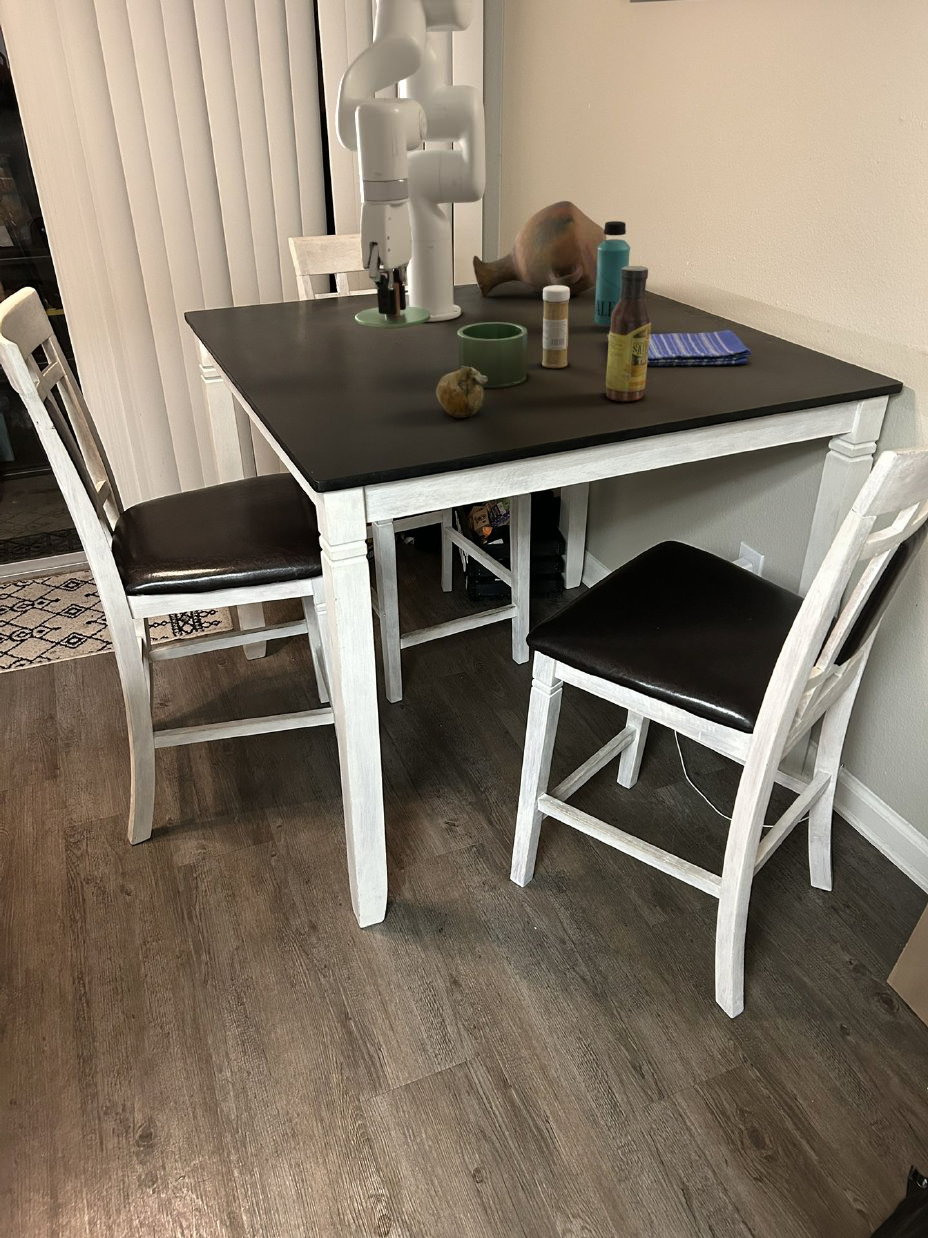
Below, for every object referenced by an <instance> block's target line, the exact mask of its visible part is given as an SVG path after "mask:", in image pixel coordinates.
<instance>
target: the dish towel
mask: <svg viewBox="0 0 928 1238" xmlns="http://www.w3.org/2000/svg"><path fill="white" fill-rule="evenodd" d="M607 339H608V341H609V333H608V334H607ZM752 354H753V352H752V351H751V349H750V348H748V347H746V345H745V344H744V343H743V342H742V339H740V338H739V337H738V336H737V335H736V334H735V332H733V331H732V330H731V329H725V330H724V329H723V330H721V331H713V332H698V333H688V332H687V333H683V332H682V333H681V332H680V333H677V332H676V333H675V332H672V333H660V334H658V333H650V337H649V348H648V359H647V367H648V366H649V367H650V366H652V367H653V366H654V367H655V366H657V367H659V366H660V367H662V366H666V367H668V366H707V365H708V366H725V365H740V366H741V365H748V359H747V358H749V357H750V355H752Z"/></svg>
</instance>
